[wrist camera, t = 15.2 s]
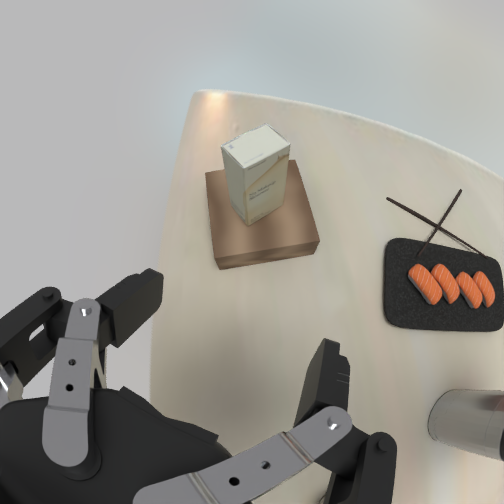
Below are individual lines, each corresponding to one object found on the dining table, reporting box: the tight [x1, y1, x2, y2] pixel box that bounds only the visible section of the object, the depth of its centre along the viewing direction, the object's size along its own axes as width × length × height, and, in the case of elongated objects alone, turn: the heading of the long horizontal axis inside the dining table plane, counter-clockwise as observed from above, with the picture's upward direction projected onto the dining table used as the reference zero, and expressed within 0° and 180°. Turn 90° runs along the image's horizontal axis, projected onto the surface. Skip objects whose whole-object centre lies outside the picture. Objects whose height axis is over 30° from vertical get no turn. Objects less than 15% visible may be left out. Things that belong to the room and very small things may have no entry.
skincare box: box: [221, 123, 290, 226], centre depth 32 cm, size 6×4×12 cm
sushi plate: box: [385, 189, 504, 332], centre depth 39 cm, size 29×30×4 cm
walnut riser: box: [205, 160, 320, 270], centre depth 41 cm, size 14×14×5 cm
